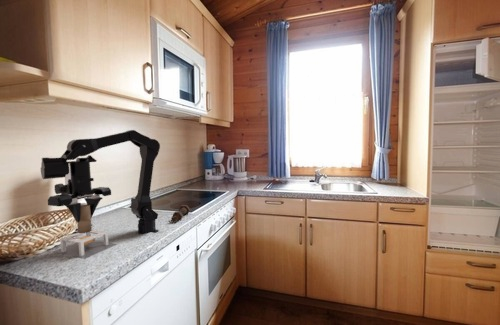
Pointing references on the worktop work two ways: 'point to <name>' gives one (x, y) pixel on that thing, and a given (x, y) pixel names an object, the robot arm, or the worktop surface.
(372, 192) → the worktop surface
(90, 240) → the orange square block
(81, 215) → the walnut cylinder
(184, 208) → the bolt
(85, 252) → the white mini table
